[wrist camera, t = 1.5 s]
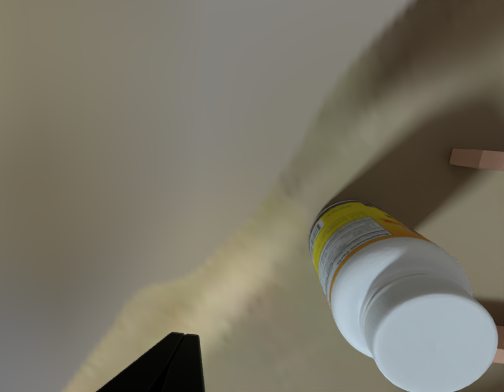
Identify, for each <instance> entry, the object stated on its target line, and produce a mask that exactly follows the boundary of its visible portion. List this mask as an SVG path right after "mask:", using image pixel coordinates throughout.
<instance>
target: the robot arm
mask: <svg viewBox="0 0 504 392" xmlns="http://www.w3.org/2000/svg"><path fill="white" fill-rule="evenodd" d="M96 392H205V386H204V377H203V367H202V358H201V348H200V339H199V335H195V334H186V335H185V334H184V333H178V332H171V333H170V334H168V335H167V336H166V337H165V338H163V339H162V340H161V341H160V342H158V343H157V344H156V345H154V346H153V347H152V348H151V349H149V350H148V351H147V352H146V353H144V354H143V355H142V356H141V357H139V358H138V359H137V360H136V361H134V362H133V363H132V364H130V365H129V366H128V367H127V368H125V369H124V370H123V371H122V372H120V373H119V374H118V375H117V376H115V377H114V378H113V379H112V380H110V381H109V382H108V383H106V384H105V385H104V386H103V387H101V388H100V389H99V390H98V391H96Z"/></svg>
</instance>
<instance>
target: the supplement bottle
mask: <svg viewBox="0 0 504 392" xmlns="http://www.w3.org/2000/svg"><path fill="white" fill-rule="evenodd" d="M308 242H309V250H310V254H311V257H312V259H313V262H314V265H315V268H316V271H317V274H318V277H319V279H320V282H321V285H322V288H323V290H324V293H325V296H326V299H327V301H328V304H329V307H330V309H331V312H332V315H333V317H334V320H335V322H336V324H337V326H338V328H339V330H340V332H341V333H342V335H343V336H344V337H345V339H346V340H347V341H348V342H349V343H350V344H351V345H352V346H353V347H354V348H356V349H357V350H358V351H360V352H362V353H363V354H365V355H367V356H369V357H372V358H374V360H375V362H376V364H377V366H378V367H379V369H380V371H381V372H382V373H383V375H384V376H385V377H386V378H387V379H388V380H389V381H391V382H392V383H393V384H395V385H396V386H398V387H400V388H402V389H404V390H406V391H409V392H454V391H457V390H460V389H462V388H464V387H466V386H468V385H470V384H471V383H473V382H474V381H476V380H477V379H478V378H479V377H481V376H482V375H483V373H484V372H485V371H486V370H487V369H488V367H489V366H490V365H491V363H492V361H493V359H494V357H495V354H496V351H497V346H498V333H497V328H496V325H495V323H494V320H493V318H492V317H491V315H490V314H489V313H488V311H487V310H486V309H485V308H484V307H483V306H482V305H481V304H480V303H479V302H477V301H476V300H475V299H474V298H473V293H472V287H471V284H470V281H469V278H468V276H467V274H466V272H465V271H464V269H463V268H462V266H461V265H460V264H459V263H458V261H457V260H456V259H455V258H454V257H452V256H451V255H450V254H449V253H447V252H446V251H445V250H443V249H442V248H440V247H439V246H437V245H436V244H434V243H433V242H431V241H429V240H428V239H426V238H425V237H423V236H422V235H420V234H418V233H417V232H415V231H414V230H412V229H410V228H409V227H407V226H406V225H404V224H403V223H401V222H400V221H398V220H396V219H395V218H393V217H392V216H390V215H388V214H387V213H385V212H384V211H382V210H381V209H379V208H377V207H375V206H374V205H371V204H369V203H366V202H363V201H357V200H347V201H342V202H338V203H335V204H333V205H331V206H329V207H328V208H326V209H325V210H324V211H322V212H321V213H320V214H319V215H318V217H317V218H316V219H315V221H314V222H313V224H312V226H311V229H310V233H309V241H308Z"/></svg>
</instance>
